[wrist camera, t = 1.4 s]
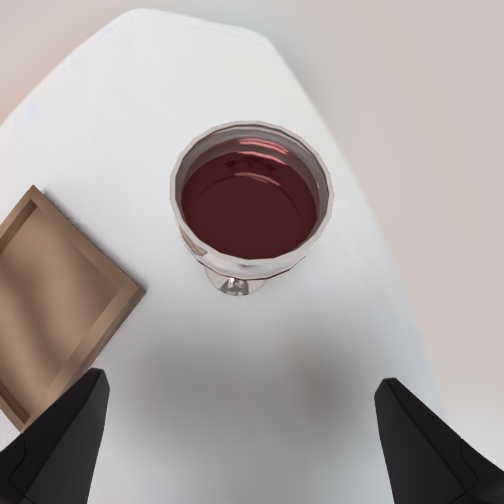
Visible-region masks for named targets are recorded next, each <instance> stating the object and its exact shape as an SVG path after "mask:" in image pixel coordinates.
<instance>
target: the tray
mask: <svg viewBox="0 0 504 504" xmlns="http://www.w3.org/2000/svg"><path fill="white" fill-rule="evenodd" d="M145 293H146V292H145V291H144V290H143V289H142V288H141V287H139V286H138V285H137V284H136V283H135V282H134V281H133V280H131V279H130V278H129V277H128V276H127V275H126V274H125V273H123V272H122V271H121V270H120V269H119V268H118V267H117V266H116V265H115V264H113V263H112V262H111V261H110V260H109V259H108V258H107V257H106V256H105V255H104V254H103V253H101V252H100V251H99V250H98V249H97V248H96V247H95V246H94V245H93V244H92V243H91V242H90V241H89V240H88V239H87V238H86V237H85V236H84V235H83V234H82V233H80V232H79V231H78V230H77V229H76V228H75V227H74V226H73V225H72V224H71V223H70V222H69V221H68V220H67V219H66V218H65V217H64V216H63V215H62V214H61V213H60V212H59V211H58V210H57V208H56V207H55V206H54V205H53V204H52V203H51V202H50V201H49V200H48V199H47V198H46V197H45V196H44V195H43V194H42V193H41V192H40V191H39V190H38V189H37V188H36V187H35V186H34V185H32V186H31V187H30V189H29V190H28V191H27V192H26V193H25V195H24V196H23V197H22V198H21V200H20V201H19V202H18V203H17V205H16V206H15V207H14V208H13V210H12V211H11V212H10V214H9V215H8V216H7V218H6V219H5V220H4V222H3V223H2V224H1V226H0V409H1V410H2V411H3V413H4V414H5V415H6V416H7V418H8V419H9V420H10V421H11V422H12V424H13V425H14V426H15V427H16V428H17V429H18V431H19V432H20V433H23V431H24V430H25V429H26V428H27V427H28V426H29V425H30V424H31V423H33V422H34V421H35V420H36V419H37V418H38V417H39V416H40V415H41V414H42V413H43V412H44V411H45V410H46V409H47V408H48V407H49V406H50V405H52V404H53V403H54V402H55V401H56V400H57V399H58V398H59V397H60V396H61V395H62V394H63V393H64V392H65V391H66V390H68V389H69V388H70V387H71V386H72V385H73V384H74V383H75V382H76V381H77V380H78V379H79V378H80V377H82V376H83V375H84V374H85V372H86V371H87V369H88V368H89V367H90V365H91V364H92V363H93V361H94V360H95V358H96V357H97V356H98V354H99V353H100V352H101V350H102V349H103V348H104V346H105V345H106V344H107V342H108V341H109V340H110V338H111V337H112V336H113V334H114V333H115V332H116V331H117V329H118V328H119V327H120V325H121V324H122V323H123V321H124V320H125V319H126V318H127V316H128V315H129V314H130V312H131V311H132V310H133V309H134V307H135V306H136V305H137V303H138V302H139V301H140V300H141V298H142V297H143V296H144V295H145Z"/></svg>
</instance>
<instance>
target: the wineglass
mask: <svg viewBox="0 0 504 504" xmlns="http://www.w3.org/2000/svg"><path fill="white" fill-rule="evenodd" d="M333 199H334V191H333V186H332V181H331V177H330V172H329V171H328V169H327V167H326V165H325V164H324V162H323V160H322V158H321V157H320V155H319V153H318V152H317V151H316V150H315V149H314V148H313V147H311V146H310V145H309V144H308V143H307V142H306V141H305V140H304V139H303V138H302V137H300V136H298V135H297V134H295V133H293V132H291V131H289V130H287V129H285V128H283V127H282V126H278V125H274V124H270V123H266V122H262V121H233V122H230V123H226V124H222V125H219V126H215V127H212V128H211V129H209V130H207V131H206V132H204V133H202V134H201V135H199V136H197V137H196V138H194V139H193V140H192V141H191V142H190V144H189V145H188V146H187V147H186V148H185V149H184V150H183V151H182V153H181V154H180V155H179V156H178V159H177V161H176V164H175V166H174V169H173V171H172V173H171V176H170V202H171V205H172V208H173V211H174V214H175V222H176V225H177V228H178V231H179V233H180V236H181V239H182V241H183V243H184V244H185V246H186V247H187V248H188V249H189V250H190V252H191V253H192V254H193V255H194V257H195V258H196V259H197V260H198V262H199V263H201V264H203V265H204V266H205V270H206V273H207V276H208V278H209V280H210V281H211V282H212V284H213V285H214V286H215V287H216V288H218V289H219V290H221V291H222V292H224V293H227V294H231V295H235V296H237V295H247V294H249V293H252V292H254V291H256V290H257V289H259V288H260V287H261V286H262V285H263V284H264V283H265V281H266V280H267V279H269V278H272V277H274V276H277V275H279V274H282V273H284V272H287V271H289V270H290V269H291V268H292V267H293V266H295V265H296V264H297V263H298V262H299V261H300V260H301V259H303V258H304V257H305V256H306V255H307V254H308V252H309V250H310V249H311V247H312V245H313V243H314V242H315V241H316V240H317V239H318V238H320V236H321V234H322V232H323V231H324V229H325V227H326V225H327V223H328V221H329V220H330V218H331V214H332V207H333Z"/></svg>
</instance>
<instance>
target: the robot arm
mask: <svg viewBox="0 0 504 504" xmlns="http://www.w3.org/2000/svg"><path fill="white" fill-rule="evenodd" d="M109 392H110V387H109V383H108V380H107V377H106V374H105V372H104V370H103V369H98V368H91V369H89V370H88V371H87V372H86V373H85V374H84V375H83V376H82V377H80V378H79V379H78V380H77V381H76V382H75V383H74V384H73V385H72V386H71V387H70V388H69V389H68V390H66V391H65V392H64V393H63V394H62V395H61V396H60V397H59V398H58V399H57V400H56V401H55V402H54V403H53V404H52V405H50V406H49V407H48V408H47V409H46V410H45V411H44V412H43V413H42V414H41V415H40V416H39V417H38V418H37V419H36V420H35V421H34V422H33V423H31V424H30V425H29V426H28V427H27V428H26V429H25V430H24V431H23V433H21V434H20V435H19V436H18V437H17V438H16V439H15V440H14V441H12V442H11V443H10V444H9V445H8V446H7V447H6V448H5V449H3V450H2V451H1V452H0V504H87V501H88V496H89V491H90V486H91V482H92V477H93V473H94V468H95V464H96V460H97V455H98V451H99V447H100V443H101V439H102V435H103V431H104V425H105V418H106V411H107V404H108V398H109ZM374 400H375V407H376V414H377V421H378V429H379V436H380V440H381V445H382V449H383V453H384V457H385V462H386V466H387V470H388V475H389V479H390V484H391V489H392V494H393V498H394V503H395V504H504V471H503V470H501V469H500V468H499V467H497V466H496V465H494V464H493V463H492V462H490V461H489V460H487V459H486V458H485V457H483V456H482V455H481V454H480V453H478V452H477V451H476V450H475V449H474V448H472V447H471V446H470V445H469V444H468V443H467V442H466V441H464V440H463V439H461V437H460V436H459V435H458V434H457V433H456V432H454V431H453V430H452V429H451V428H450V427H449V426H448V425H447V424H446V423H445V422H444V421H442V420H441V419H440V418H439V417H438V416H437V415H436V414H435V413H434V412H433V411H431V410H430V409H429V408H428V407H427V406H426V405H425V404H424V403H423V402H422V401H420V400H419V399H418V398H417V397H416V396H415V395H414V394H413V393H412V392H410V391H409V390H408V389H407V388H406V387H405V386H404V385H403V384H402V383H401V382H399V381H398V380H397V379H396V378H393V377H392V378H384V379H383V380H382V382H381V383H380V385H379V387H378V389H377V390H376V392H375V396H374Z"/></svg>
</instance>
